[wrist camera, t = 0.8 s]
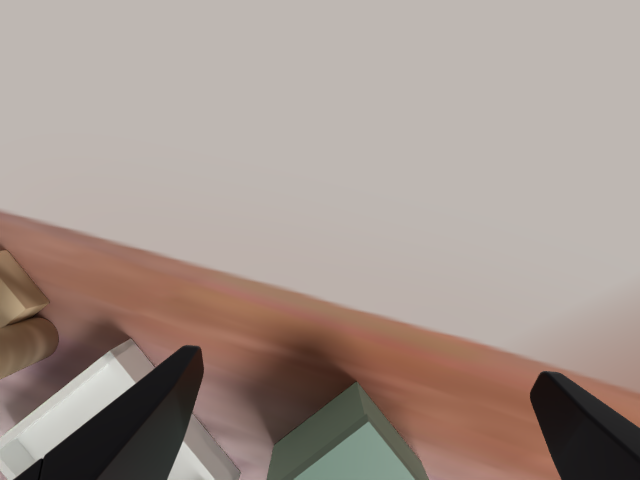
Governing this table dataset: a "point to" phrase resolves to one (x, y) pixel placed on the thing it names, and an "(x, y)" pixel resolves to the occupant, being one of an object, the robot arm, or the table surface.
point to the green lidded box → (345, 445)
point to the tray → (89, 399)
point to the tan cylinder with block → (22, 320)
